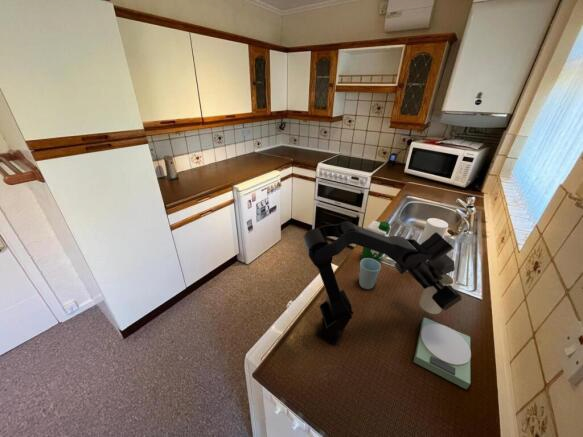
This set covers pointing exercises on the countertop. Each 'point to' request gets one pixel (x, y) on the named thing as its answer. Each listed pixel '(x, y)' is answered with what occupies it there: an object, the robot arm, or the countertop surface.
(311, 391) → the countertop surface
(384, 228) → the milk carton
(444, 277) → the beaker
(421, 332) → the kitchen scale
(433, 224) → the cylindrical container
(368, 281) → the cup
